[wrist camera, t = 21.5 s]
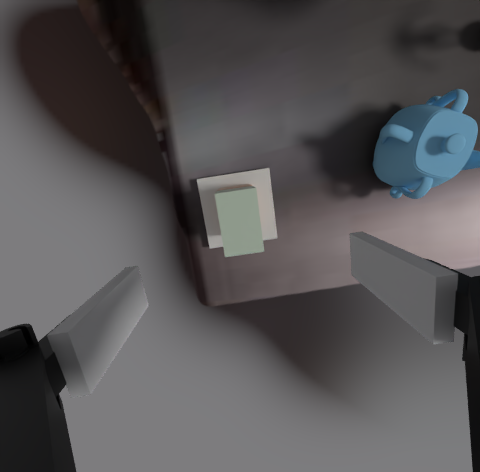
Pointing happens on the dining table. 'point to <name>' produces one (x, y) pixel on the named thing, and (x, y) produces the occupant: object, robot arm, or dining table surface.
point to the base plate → (253, 177)
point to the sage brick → (239, 221)
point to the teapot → (426, 145)
